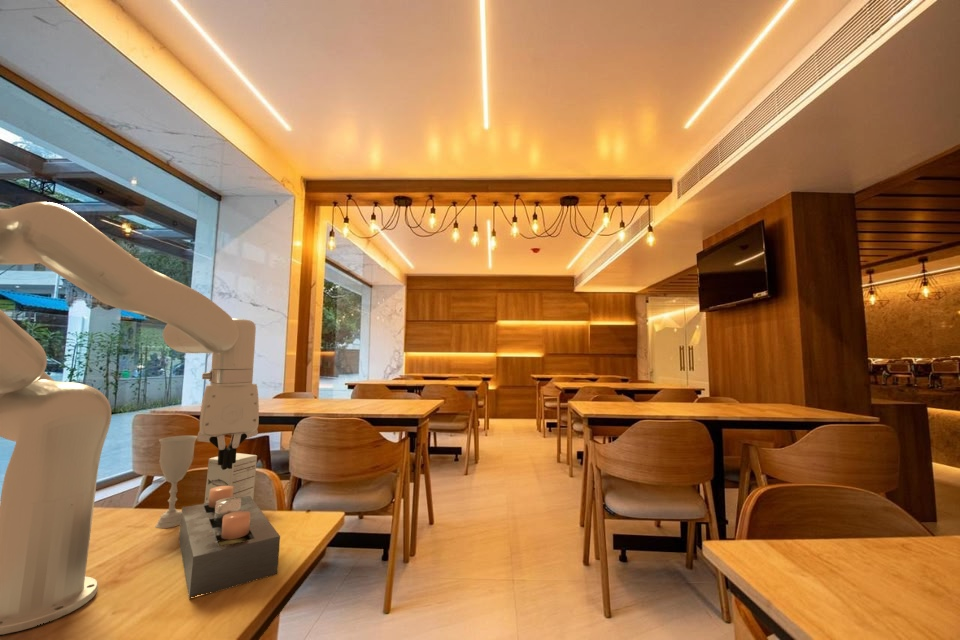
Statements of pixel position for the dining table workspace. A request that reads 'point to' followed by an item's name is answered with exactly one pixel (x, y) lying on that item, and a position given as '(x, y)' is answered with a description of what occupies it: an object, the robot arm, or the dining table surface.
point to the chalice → (174, 472)
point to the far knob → (219, 494)
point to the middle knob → (226, 507)
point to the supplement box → (233, 476)
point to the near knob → (235, 525)
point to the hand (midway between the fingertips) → (226, 467)
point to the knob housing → (225, 549)
